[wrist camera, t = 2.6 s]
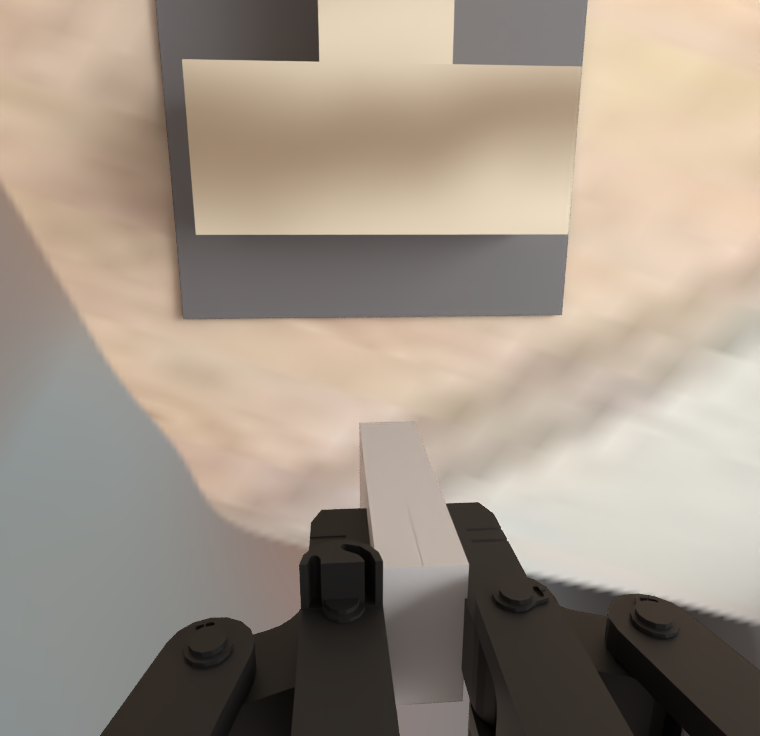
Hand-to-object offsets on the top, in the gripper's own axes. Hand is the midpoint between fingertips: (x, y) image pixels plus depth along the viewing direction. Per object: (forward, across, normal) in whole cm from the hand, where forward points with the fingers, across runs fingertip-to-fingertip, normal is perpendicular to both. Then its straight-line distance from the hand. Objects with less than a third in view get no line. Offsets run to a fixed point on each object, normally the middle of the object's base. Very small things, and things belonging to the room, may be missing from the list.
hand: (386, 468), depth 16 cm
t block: (+9, 0, -13) cm, 16 cm away
